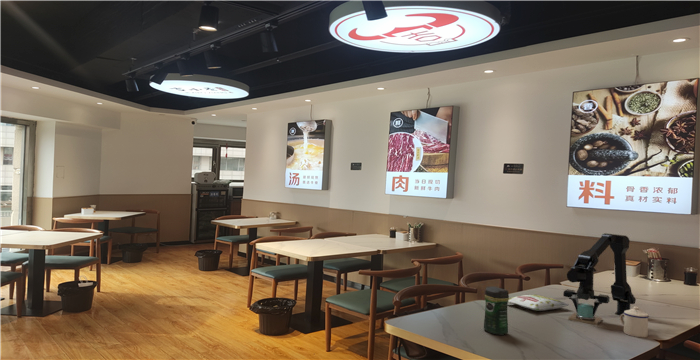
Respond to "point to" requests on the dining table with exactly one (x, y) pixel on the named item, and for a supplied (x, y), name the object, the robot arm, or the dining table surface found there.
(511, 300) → the frozen beans
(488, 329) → the coffee jar
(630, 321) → the teacup with lid
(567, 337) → the dining table surface
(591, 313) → the cap
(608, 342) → the dining table surface
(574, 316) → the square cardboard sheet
